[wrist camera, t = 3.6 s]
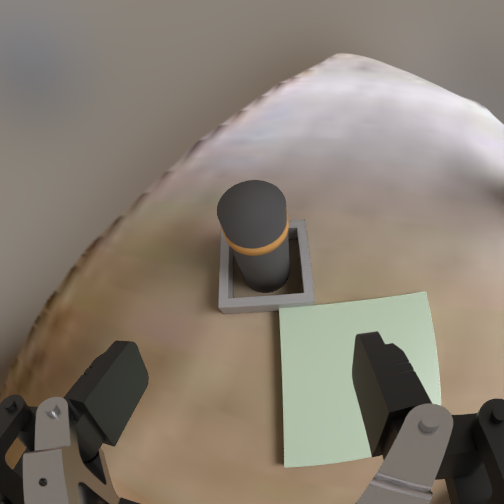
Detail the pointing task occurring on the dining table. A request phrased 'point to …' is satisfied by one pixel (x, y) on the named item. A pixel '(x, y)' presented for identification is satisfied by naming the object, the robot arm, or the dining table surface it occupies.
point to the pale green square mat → (344, 371)
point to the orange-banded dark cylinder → (257, 233)
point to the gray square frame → (266, 302)
